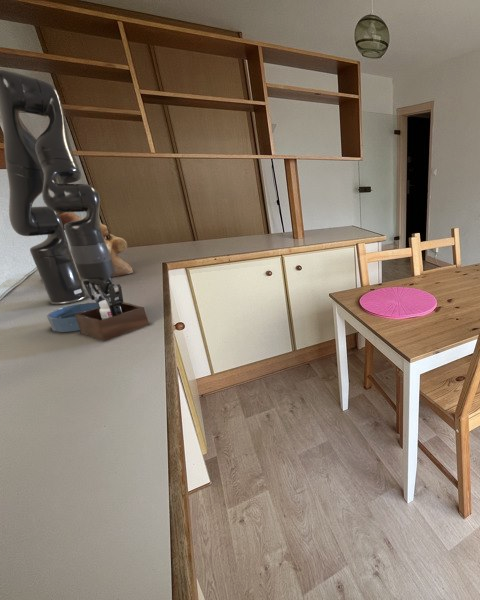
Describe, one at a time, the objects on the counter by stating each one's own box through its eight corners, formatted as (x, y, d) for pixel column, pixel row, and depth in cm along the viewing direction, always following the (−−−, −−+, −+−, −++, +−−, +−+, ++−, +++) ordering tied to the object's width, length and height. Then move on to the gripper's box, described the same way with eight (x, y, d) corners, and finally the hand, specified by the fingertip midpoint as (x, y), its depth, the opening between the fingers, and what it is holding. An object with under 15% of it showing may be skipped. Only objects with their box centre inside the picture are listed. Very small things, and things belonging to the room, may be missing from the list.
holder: (81, 333, 92) (74, 314, 90) (126, 318, 102) (120, 301, 100) (105, 340, 88) (98, 321, 86) (149, 324, 98) (144, 307, 96)
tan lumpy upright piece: (140, 273, 148) (121, 208, 137) (78, 285, 131) (51, 211, 120) (126, 268, 156) (107, 205, 145) (66, 278, 139) (39, 208, 128)
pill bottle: (114, 331, 92) (105, 304, 89) (101, 329, 93) (92, 303, 90) (130, 324, 97) (122, 299, 94) (117, 322, 98) (109, 297, 94)
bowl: (43, 327, 94) (37, 314, 93) (95, 312, 106) (91, 300, 104) (67, 336, 90) (61, 322, 88) (119, 319, 101) (115, 306, 100)
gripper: (124, 259, 88) (141, 314, 94) (94, 254, 93) (112, 306, 99) (92, 265, 82) (112, 324, 88) (61, 259, 87) (82, 315, 93)
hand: (111, 314), depth 93 cm, fingers closed on pill bottle, 4 cm apart
